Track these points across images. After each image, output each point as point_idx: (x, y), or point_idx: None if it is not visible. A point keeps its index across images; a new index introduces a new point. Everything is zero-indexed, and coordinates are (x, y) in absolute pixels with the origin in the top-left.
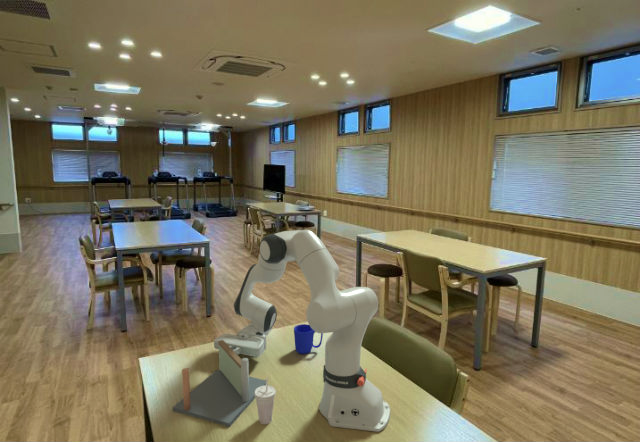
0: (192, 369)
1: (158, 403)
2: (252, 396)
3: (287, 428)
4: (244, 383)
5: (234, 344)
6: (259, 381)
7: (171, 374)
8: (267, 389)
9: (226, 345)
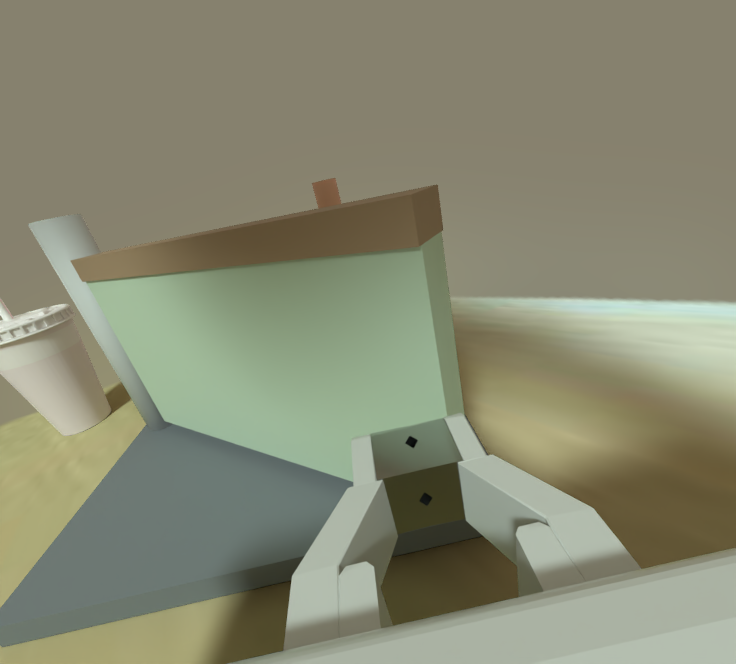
0: (718, 440)
1: (473, 306)
2: (132, 446)
3: (8, 435)
4: None
5: (482, 606)
6: (71, 577)
7: (702, 356)
8: (1, 312)
9: (274, 219)
